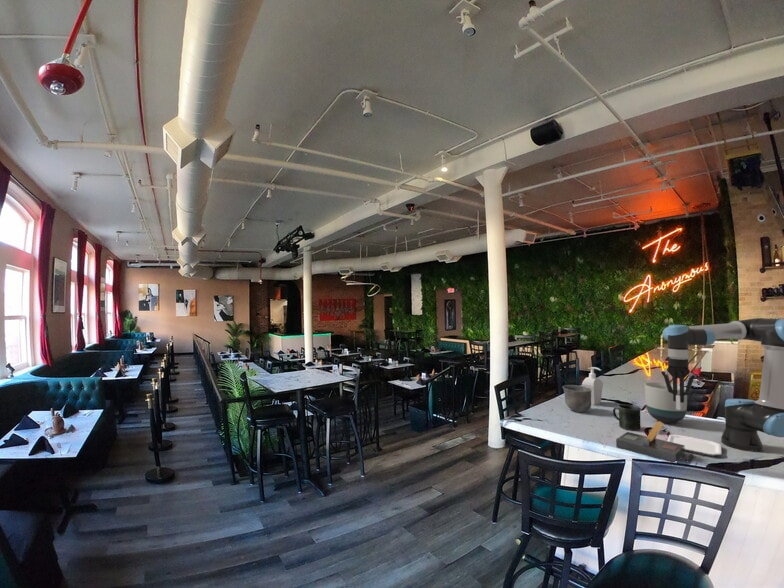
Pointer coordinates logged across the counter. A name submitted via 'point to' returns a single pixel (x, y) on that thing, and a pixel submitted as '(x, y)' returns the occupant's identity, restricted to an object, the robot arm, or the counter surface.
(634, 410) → the mug
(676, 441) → the plate
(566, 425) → the counter surface
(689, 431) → the counter surface
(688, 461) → the cord
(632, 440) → the panel
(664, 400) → the planter
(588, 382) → the soap bottle
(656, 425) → the lever
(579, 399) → the cup
